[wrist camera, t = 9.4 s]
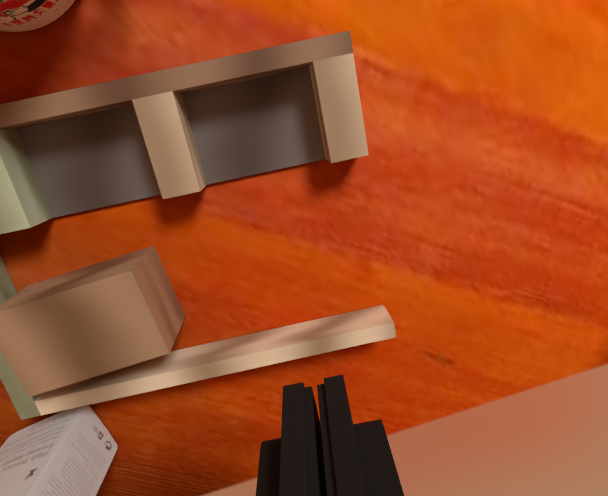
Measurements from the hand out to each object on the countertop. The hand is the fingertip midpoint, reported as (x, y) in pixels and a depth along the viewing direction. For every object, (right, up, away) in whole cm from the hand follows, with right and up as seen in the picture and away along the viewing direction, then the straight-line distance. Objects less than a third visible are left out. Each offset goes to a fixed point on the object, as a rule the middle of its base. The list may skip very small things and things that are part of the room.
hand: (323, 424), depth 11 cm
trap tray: (-8, +5, +14) cm, 16 cm away
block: (-13, +2, +15) cm, 19 cm away
